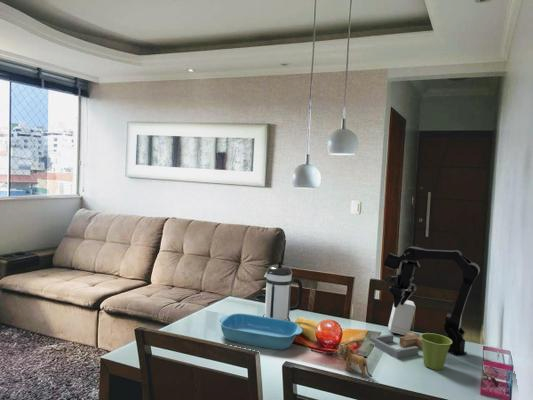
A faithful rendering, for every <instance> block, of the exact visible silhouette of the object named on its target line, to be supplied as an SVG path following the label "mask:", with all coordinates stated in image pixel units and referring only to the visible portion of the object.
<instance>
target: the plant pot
mask: <svg viewBox="0 0 533 400" xmlns="http://www.w3.org/2000/svg"><path fill="white" fill-rule="evenodd" d="M419 336H420V337H421V339H422V346H423V350H422V357H423V358H422V359H423V365H424V366H425V367H426V368H430V369H431V370H436V371H441V370H442V369H444V367H445V363H446V360H447V355H448V353H449V352H448V349H449V348H450V344H452V340H451V339H449V338H448V336H445V335H442V334H437V333H432V332H431V333H430V332H425V333H421V334H420V335H419Z"/></svg>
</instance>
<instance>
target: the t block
mask: <svg viewBox="0 0 533 400" xmlns="http://www.w3.org/2000/svg"><path fill="white" fill-rule="evenodd" d="M413 346H417V347H418V350H421V351H423V346H422V339H421V337H420V335H418V334H416V333H414V332H412V331H410V332H408V333H405V335H403V336H401V337H399V347H400V348H401V349H402V348H408V347H413Z"/></svg>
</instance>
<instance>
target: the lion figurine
mask: <svg viewBox="0 0 533 400" xmlns="http://www.w3.org/2000/svg"><path fill="white" fill-rule="evenodd" d="M336 353H337V355H338V356H339V357H341V358H342V360H343V361H345V367H344V371H348V370H349V368H351V367H352V364H353V365H355V366H356V365H358V368H359V370H360V373H361V374H363V375H362V376H361V378H363V379H365V378H366V377H367V375H368V376H369V378H372V377H373V375H372V374H370V372H369V369H368V368H369V367H368V364H367V359H366V358H365V357H364V356H362V355H359V354H356V353H355V352H354V350H353V349H352V348H350V346H349V345H347V344H345V343H340V344H338V349H337V350H336ZM366 373H367V374H366Z"/></svg>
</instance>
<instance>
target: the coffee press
mask: <svg viewBox="0 0 533 400" xmlns="http://www.w3.org/2000/svg"><path fill="white" fill-rule="evenodd" d="M292 275H293V271H292V268H291V267H290V266H287V265H284V264H283V261H282V260H278V261H277V264H273V265H269V267H267V269H266V272H265V274H264V276H263V277H264V278H266V280H265V282H266V287H265V306H264V307H265V308H264V313H263V315H262V316H263V317H269V318H275V319H281V320H287V321H291V318H290V312H292V311H293V312H294V311H297V310H298V309H300V307H301V305H302V303H303V302H302V298H303V283H302V281H301V280H300V279H298V278H295V277H294V278H292V277H293V276H292ZM292 283H297V286H298V293H297V303H296V304H295V306H291V290H292Z"/></svg>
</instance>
